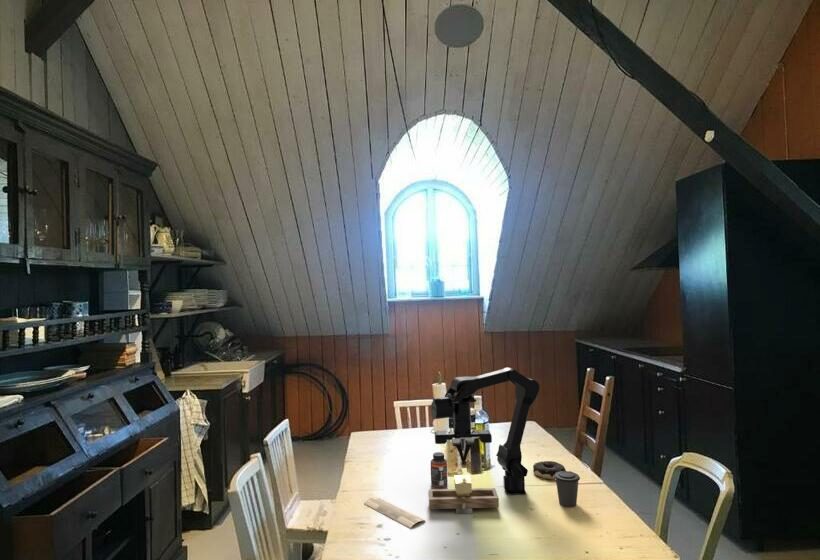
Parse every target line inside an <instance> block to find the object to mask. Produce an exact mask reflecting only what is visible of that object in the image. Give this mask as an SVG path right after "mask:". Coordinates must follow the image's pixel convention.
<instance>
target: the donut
mask: <svg viewBox="0 0 820 560" xmlns="http://www.w3.org/2000/svg"><path fill="white" fill-rule="evenodd" d="M532 467H533V469H532V471H533V473H534V475H536V476H538V477H539V478H543V479H545V480H556V478H555V477H554V475H555V473H557V472H560V471H567V470H566V467H565V466H564V464H561V463H559V462H556V461H551V460H546V461H544V460H542V461H538V462H535V463H534V464H533V465H532Z"/></svg>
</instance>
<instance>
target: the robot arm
mask: <svg viewBox="0 0 820 560" xmlns="http://www.w3.org/2000/svg"><path fill="white" fill-rule="evenodd" d="M506 382H510V383H511V384H513V385H514V386H515V389H514V390H515V391H514V393H515V400H516V402H515V407H514V410H513V414H512V419H511V422H510V427H509V431H508V435H507V438H506V441H505V442H504V444H503V445H502V444H499V445H498V450H497V453H496V455H495V456H496V459H497V463H498V464H499V465H500V466H501V468H502V470H504V475H503V476H502V477H503V489H504V491H505V493H506V494H507V495H526V494H527V491H526V487H525V486H526V484H525V482H526V481H525V479H526V478H525V477H527V476H528V472H529V469H527V467H525V466H524V465H523V464H522V459H523V458H522V457H523V455H522V450H521V444H522V441H523V437H524V432H525V429H526V425H527V419H528V416H529V413H530V409H531V406H532V405H533V404H534V402H535V401H536V400H537V398H538V395H539V393H540V390H541V389H540V388H541V387H540V386H541V385H540V383H539V382H538V381H537V380H535V379H532V378H530V377H527V376H525V375H523V374H522V373H520V372H518V371H517V370H516V369H514V368H512V367H509V366H507V367H504V368H502V369H498V370H494V371H490V372H487V373H483V374H480V375H477V376H456V377H454V378H453V379H452V380H451V383H450V387H449V388H448V390H447V391H446V393H445V395H444V397H433V398H432V402H431V405H430V414H431V417H432V419H433V420H440V419H448V429H452V430H453V433H447V430H436V431H435V432H434V443H435V445H444V444H446V443H447V442H448V441H451V445H452V447H455V448H456V449H457V452H458V454H459V457H460V460H461V463H465V462H466V461H467V458H468V454H469V452H470V450H471V448H472V446H475V445H476V444H475V440H479V441H480V442H481V444H489V443H490V444H491V443H492V442H493V441H492V440H493V439H492V433H491V431H490V430H489V429H478V431H477V432H474V433H472V418H471V417H472V416H471V414H472V413H471V411H472V409H471V403H476V402H477V398H476V399H475V397H474V396H473V395H474V394H476V393H477V392H478V391H479V390H481V389H485V388H488V387H491V386H495V385H500V384H502V383H506ZM452 416H453V418H452ZM461 440H464V441H463V442H464V443H463V446H462V441H461Z"/></svg>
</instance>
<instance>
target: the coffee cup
mask: <svg viewBox="0 0 820 560" xmlns="http://www.w3.org/2000/svg"><path fill="white" fill-rule="evenodd" d="M554 477H555V478H556V479H555V482H556V489H557V496H558V497H557V498H558V504H559V505H560V506H561V507H563V508H567V509H569V508H570V509H573V508H575V507H577V503H578V491H579V481H580V479H581V477H580V475H579V474H578V473H575V472H573V471H571V470H569V471H567V470H566V471H560V472H557V473H555V475H554Z"/></svg>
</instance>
